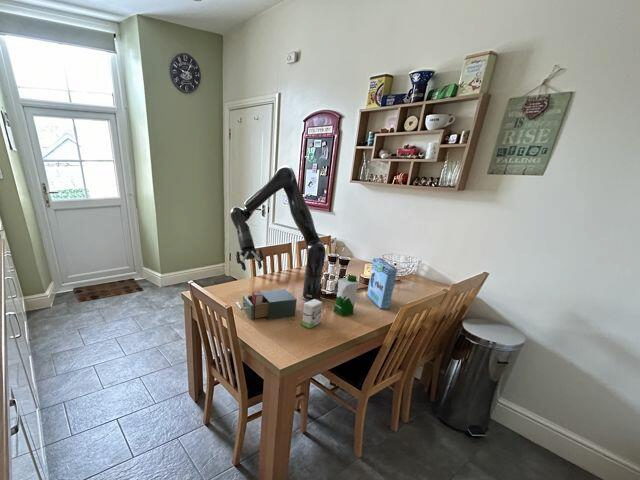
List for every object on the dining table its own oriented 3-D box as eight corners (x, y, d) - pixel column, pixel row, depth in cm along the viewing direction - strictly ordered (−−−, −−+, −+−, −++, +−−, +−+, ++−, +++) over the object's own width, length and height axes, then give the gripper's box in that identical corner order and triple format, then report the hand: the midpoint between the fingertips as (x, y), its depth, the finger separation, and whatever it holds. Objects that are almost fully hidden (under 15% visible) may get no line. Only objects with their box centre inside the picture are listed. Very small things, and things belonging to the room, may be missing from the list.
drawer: (241, 320, 161) (242, 306, 157) (234, 309, 172) (234, 296, 169) (275, 316, 166) (276, 302, 162) (266, 305, 177) (267, 292, 174)
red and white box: (258, 308, 171) (259, 290, 167) (262, 312, 167) (263, 294, 163) (251, 309, 170) (252, 291, 166) (254, 313, 166) (255, 295, 162)
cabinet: (268, 319, 164) (269, 302, 160) (258, 307, 177) (259, 291, 173) (295, 316, 168) (296, 299, 164) (283, 304, 181) (285, 288, 177)
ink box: (309, 328, 157) (312, 306, 152) (301, 325, 160) (303, 303, 155) (320, 323, 162) (323, 301, 157) (311, 319, 165) (314, 298, 160)
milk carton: (355, 314, 171) (362, 278, 163) (341, 317, 168) (347, 281, 160) (344, 307, 179) (350, 273, 170) (331, 310, 175) (336, 275, 167)
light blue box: (388, 309, 178) (398, 269, 169) (379, 309, 178) (388, 269, 168) (374, 294, 196) (382, 258, 186) (366, 294, 196) (373, 257, 186)
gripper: (234, 239, 169) (241, 267, 165) (260, 237, 173) (267, 264, 169) (231, 246, 176) (238, 273, 172) (256, 243, 180) (263, 270, 176)
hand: (252, 269), depth 171 cm, fingers open, 8 cm apart
